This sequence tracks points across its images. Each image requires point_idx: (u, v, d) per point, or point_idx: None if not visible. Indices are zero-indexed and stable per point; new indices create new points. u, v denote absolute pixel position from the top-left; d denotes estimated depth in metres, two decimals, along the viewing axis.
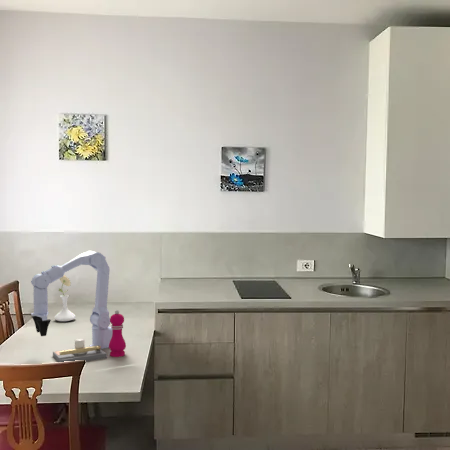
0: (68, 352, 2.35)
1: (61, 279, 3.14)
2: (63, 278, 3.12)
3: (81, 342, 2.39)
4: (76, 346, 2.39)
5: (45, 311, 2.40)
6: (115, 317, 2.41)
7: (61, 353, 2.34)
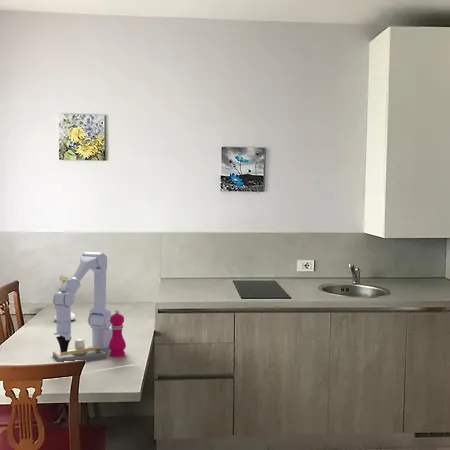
0: (69, 352, 2.34)
1: (61, 279, 3.14)
2: (63, 278, 3.12)
3: (81, 342, 2.39)
4: (76, 346, 2.39)
5: (68, 330, 2.33)
6: (115, 317, 2.41)
7: (62, 354, 2.33)
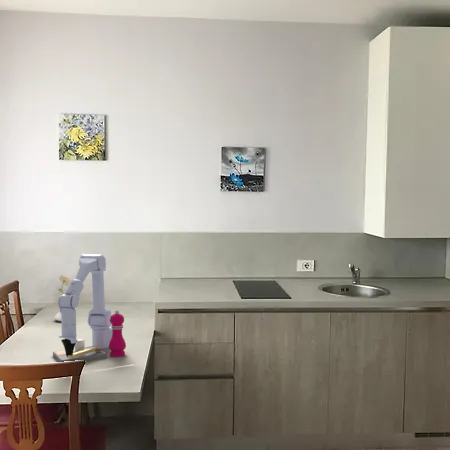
0: (76, 355, 2.31)
1: (61, 279, 3.14)
2: (63, 278, 3.12)
3: (81, 342, 2.39)
4: (76, 346, 2.39)
5: (73, 333, 2.29)
6: (115, 317, 2.41)
7: (71, 357, 2.29)
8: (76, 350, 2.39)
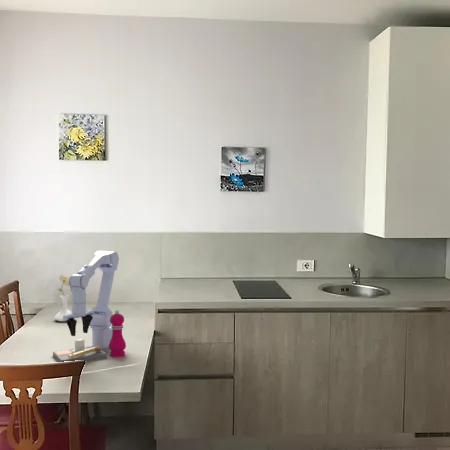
0: (76, 355, 2.31)
1: (61, 279, 3.14)
2: (63, 278, 3.12)
3: (81, 342, 2.39)
4: (76, 346, 2.39)
5: (75, 312, 2.37)
6: (115, 317, 2.41)
7: (71, 357, 2.28)
8: (76, 350, 2.39)
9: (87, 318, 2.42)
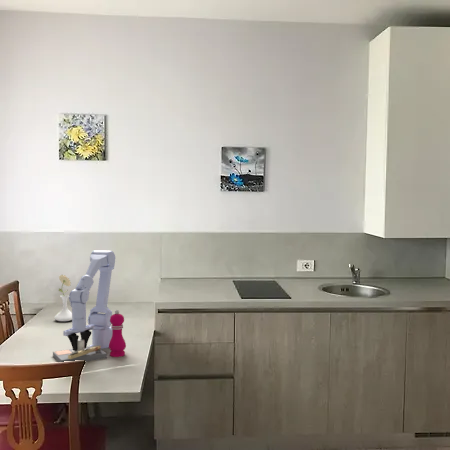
0: (76, 355, 2.31)
1: (61, 279, 3.14)
2: (63, 278, 3.12)
3: (81, 342, 2.39)
4: None
5: (76, 327, 2.38)
6: (115, 317, 2.41)
7: (71, 357, 2.28)
8: None
9: (86, 333, 2.41)
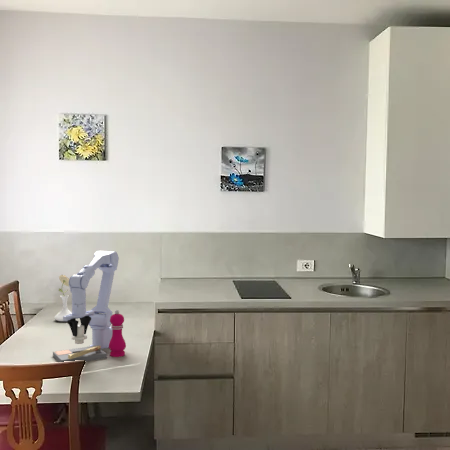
0: (76, 355, 2.31)
1: (61, 279, 3.14)
2: (63, 278, 3.12)
3: (81, 328, 2.39)
4: None
5: (76, 313, 2.37)
6: (115, 317, 2.41)
7: (71, 357, 2.28)
8: (76, 336, 2.39)
9: (85, 319, 2.41)
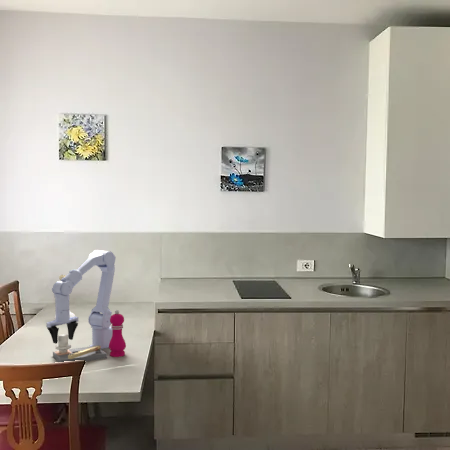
0: (76, 355, 2.31)
1: (61, 279, 3.14)
2: None
3: (64, 337, 2.39)
4: (60, 341, 2.39)
5: (59, 319, 2.38)
6: (115, 317, 2.41)
7: (71, 357, 2.28)
8: (60, 345, 2.39)
9: (72, 325, 2.42)
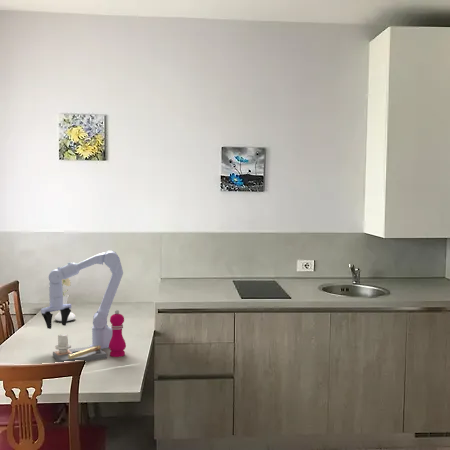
0: (76, 355, 2.31)
1: None
2: None
3: (64, 337, 2.39)
4: (59, 341, 2.39)
5: (53, 305, 2.50)
6: (115, 317, 2.41)
7: (71, 357, 2.28)
8: (59, 345, 2.39)
9: (65, 311, 2.55)
